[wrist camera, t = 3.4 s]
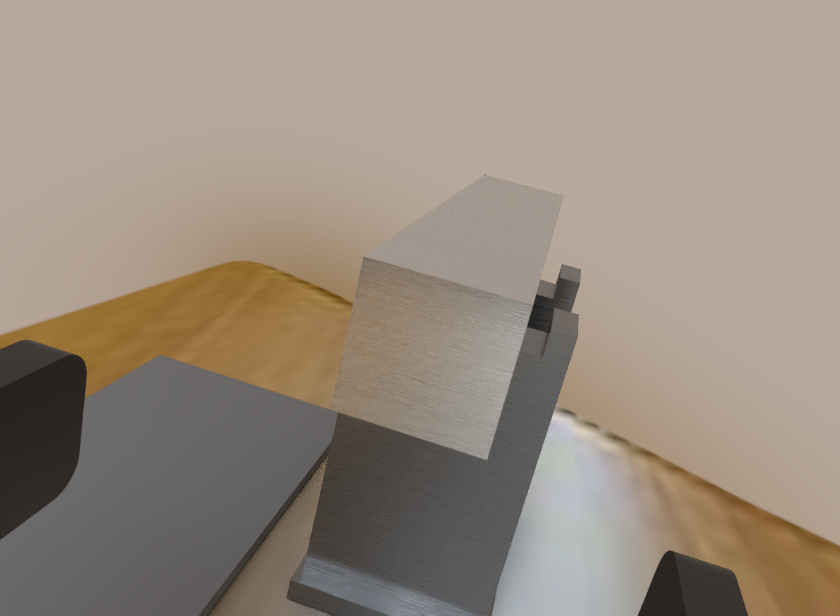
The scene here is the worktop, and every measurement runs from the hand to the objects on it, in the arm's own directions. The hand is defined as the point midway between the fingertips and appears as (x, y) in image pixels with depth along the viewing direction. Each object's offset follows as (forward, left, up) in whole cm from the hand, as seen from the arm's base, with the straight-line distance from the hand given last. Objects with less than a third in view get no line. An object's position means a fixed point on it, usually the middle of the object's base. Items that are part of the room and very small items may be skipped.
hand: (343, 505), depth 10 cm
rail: (-9, -12, -2) cm, 15 cm away
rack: (-11, -14, -13) cm, 22 cm away
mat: (0, -18, -13) cm, 22 cm away
